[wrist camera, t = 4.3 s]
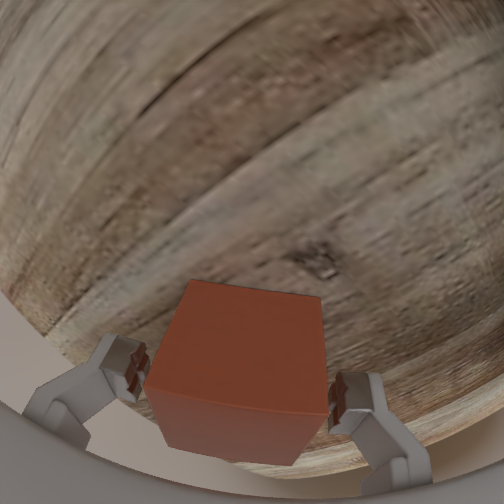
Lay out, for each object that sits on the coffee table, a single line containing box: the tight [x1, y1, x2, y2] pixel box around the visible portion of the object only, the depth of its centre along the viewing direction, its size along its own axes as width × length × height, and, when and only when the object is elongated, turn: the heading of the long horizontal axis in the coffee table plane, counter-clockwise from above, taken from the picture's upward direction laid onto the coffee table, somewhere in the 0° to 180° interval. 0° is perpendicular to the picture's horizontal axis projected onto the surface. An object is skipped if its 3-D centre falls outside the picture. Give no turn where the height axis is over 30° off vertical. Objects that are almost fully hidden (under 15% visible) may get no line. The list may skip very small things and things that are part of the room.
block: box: [143, 280, 329, 466], centre depth 9 cm, size 4×4×4 cm
